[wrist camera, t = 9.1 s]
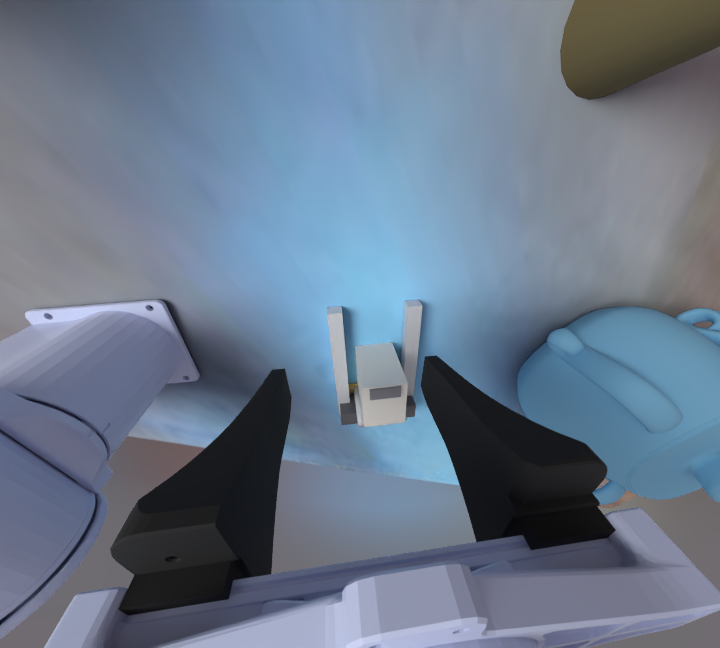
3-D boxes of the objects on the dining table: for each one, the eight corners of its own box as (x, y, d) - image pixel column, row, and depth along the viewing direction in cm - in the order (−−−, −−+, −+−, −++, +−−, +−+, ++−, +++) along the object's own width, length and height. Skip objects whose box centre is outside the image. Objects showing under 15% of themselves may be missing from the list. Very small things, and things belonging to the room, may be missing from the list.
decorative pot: (482, 415, 31) (573, 558, 20) (528, 296, 23) (730, 422, 12) (601, 404, 33) (750, 531, 21) (684, 289, 25) (999, 394, 13)
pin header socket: (338, 406, 28) (340, 444, 24) (327, 307, 21) (327, 337, 18) (409, 398, 28) (422, 433, 24) (418, 299, 22) (437, 326, 18)
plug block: (357, 381, 26) (364, 429, 21) (355, 345, 24) (362, 390, 19) (390, 377, 26) (405, 424, 22) (391, 341, 24) (408, 385, 19)
